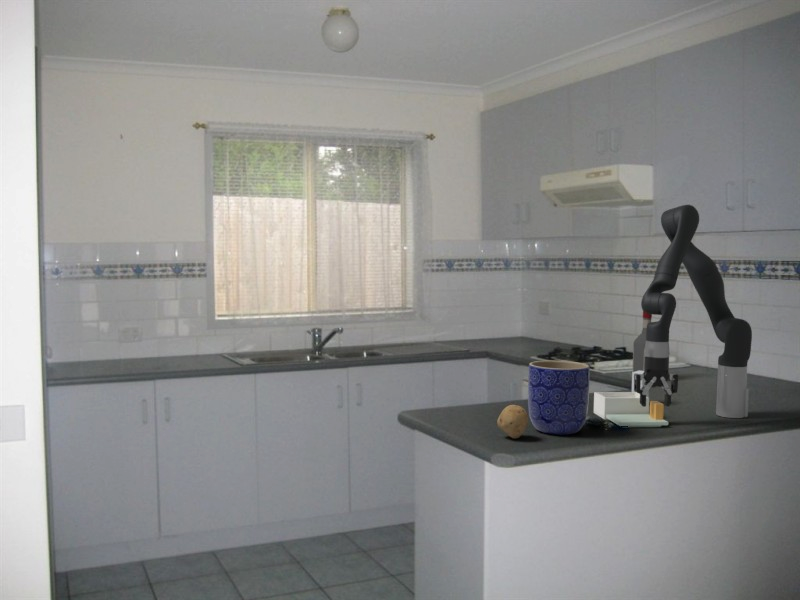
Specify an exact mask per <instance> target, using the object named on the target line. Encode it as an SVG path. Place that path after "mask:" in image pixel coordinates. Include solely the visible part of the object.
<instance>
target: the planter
mask: <svg viewBox="0 0 800 600" xmlns="http://www.w3.org/2000/svg"><path fill="white" fill-rule="evenodd" d="M590 369H591V368H590V365H588V364H586V363H583V362H578V361H571V360H570V361H569V360H549V359H548V360H536V361H532V362H530V363H528V374H527V375H528V381H527V383H528V385H527V387H528V388H527V397H528V398H527V401H528V402H527V406H528V417H529V419H530V421H531V423H532V425H533V427H534V428H535V429H536V430H537V431H539V432H541V433H544V434H549V435H557V436H559V435H560V436H568V435H574V434H576V433H578V432H579V431H580V430H581V429H582V428H583V426H584V425H585V423H586V421H587V418H588V413H589V412H588V411H589V399H590V383H591V382H590V376H591V375H590V373H591V371H590Z"/></svg>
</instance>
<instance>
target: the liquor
mask: <svg viewBox="0 0 800 600" xmlns="http://www.w3.org/2000/svg"><path fill="white" fill-rule="evenodd" d="M652 317H653V314H646V313H645V312H644V311H643V310H642V330H641V333H640V334H639V335H638V336H637V337H636V338H635V339H634V341H633V349H632V350H633V352H632V372H635V371H639V370H640V371H644V361H645V344H646V328H647V324H648V323H651V322H652Z"/></svg>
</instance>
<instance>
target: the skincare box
mask: <svg viewBox="0 0 800 600" xmlns="http://www.w3.org/2000/svg"><path fill="white" fill-rule="evenodd" d="M643 373H644V371H640V370H639V371H635V372H633V371H632V372H631V392H635V391H634V374H643ZM644 382H645V379H644V378H642V380H641V384H640V390H641V388H642V386H643V384H644ZM645 395H646V397H648V398H649V399H650V389H649V390H648V391H647V393H646V394H645Z"/></svg>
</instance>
